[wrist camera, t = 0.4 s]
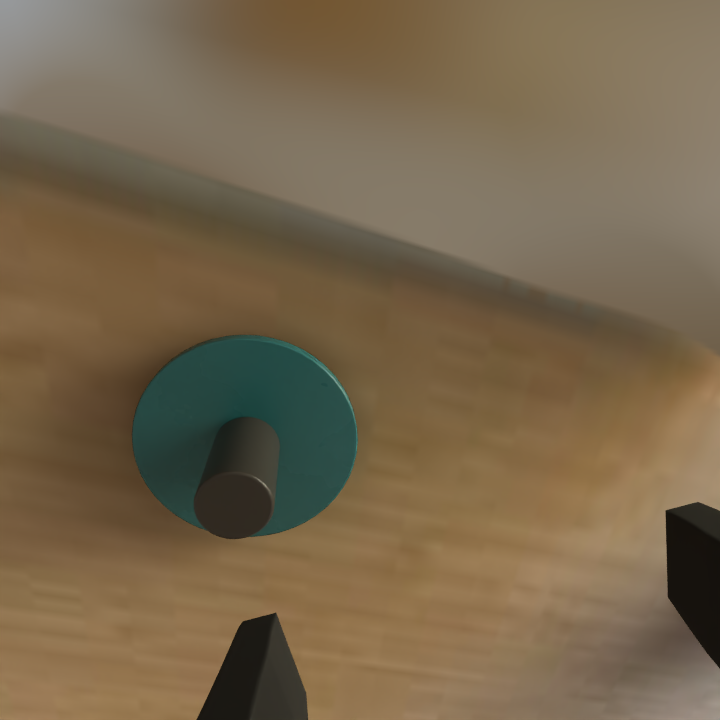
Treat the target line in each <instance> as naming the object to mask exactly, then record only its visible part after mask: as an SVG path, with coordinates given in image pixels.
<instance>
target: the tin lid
mask: <svg viewBox="0 0 720 720" xmlns="http://www.w3.org/2000/svg"><path fill="white" fill-rule="evenodd" d="M357 442H358V438H357V426H356V421H355V416H354V411H353V408H352V405H351V403H350V400H349V397H348V396H347V394H346V392H345V390H344V388H343V386H342V385H341V383H340V382H339V381H338V379H337V378H336V377H335V375H334V374H333V373H332V372H331V371H330V370H329V369H328V368H327V367H326V366H325V365H324V364H323V363H322V362H320V361H319V360H318V359H317V358H315V357H314V356H312V355H311V354H309V353H308V352H306V351H304V350H303V349H301V348H299V347H296V346H294V345H292V344H290V343H287V342H284V341H281V340H277V339H274V338H269V337H263V336H257V335H233V336H224V337H220V338H215V339H211V340H208V341H205V342H202V343H199V344H196V345H194V346H192V347H190V348H188V349H186V350H184V351H183V352H181V353H180V354H178V355H177V356H175V357H174V358H172V359H171V360H170V361H169V362H168V363H167V364H166V365H165V366H163V367H162V368H161V369H160V371H159V372H158V373H157V374H156V375H155V377H154V378H153V379H152V380H151V382H150V383H149V384H148V386H147V388H146V389H145V391H144V392H143V394H142V396H141V398H140V401H139V403H138V405H137V408H136V412H135V416H134V420H133V429H132V443H133V451H134V456H135V460H136V463H137V466H138V469H139V471H140V474H141V476H142V478H143V479H144V481H145V483H146V485H147V486H148V488H149V489H150V490H151V492H152V493H153V494H154V496H155V497H156V498H157V499H158V500H159V501H160V502H161V503H162V504H163V505H164V506H165V507H166V508H167V509H169V510H170V511H171V512H172V513H174V514H175V515H176V516H178V517H180V518H181V519H183V520H185V521H186V522H188V523H190V524H192V525H194V526H197V527H199V528H201V529H204V530H207V531H209V532H210V533H212V534H214V535H216V536H219V537H222V538H227V539H241V538H246V537H255V536H264V535H270V534H275V533H279V532H283V531H286V530H288V529H291V528H294V527H296V526H298V525H300V524H302V523H305V522H306V521H308V520H310V519H311V518H313V517H314V516H316V515H317V514H318V513H320V512H321V511H322V510H323V509H325V508H326V507H327V506H328V505H329V504H330V503H331V502H332V501H333V500H334V499H335V498H336V496H337V495H338V494H339V492H340V491H341V490H342V488H343V487H344V485H345V483H346V481H347V480H348V478H349V476H350V473H351V470H352V468H353V465H354V461H355V457H356V453H357Z"/></svg>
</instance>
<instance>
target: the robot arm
mask: <svg viewBox="0 0 720 720" xmlns="http://www.w3.org/2000/svg"><path fill="white" fill-rule="evenodd" d="M666 542H667V581H668V598H669V599H670V601H671V602H672V604H673V605H674V607H675V608H676V610H677V611H678V613H679V614H680V616H681V617H682V619H683V620H684V622H685V623H686V624H687V626H688V627H689V629H690V630H691V632H692V633H693V634H694V636H695V637H696V639H697V640H698V641H699V643H700V644H701V645H702V647H703V648H704V650H705V651H706V652H707V654H708V655H709V656H710V657H711V658H712V660H713V661H714V662H715V663H716V664H717V666H718V667H719V668H720V511H719V510H716V509H714V508H712V507H709V506H707V505H704V504H702V503H699V502H696V503H692V504H689V505H685V506H681V507H677V508H673V509H670V510H666ZM197 720H308V712H307V698H306V692H305V689H304V686H303V684H302V681H301V678H300V676H299V673H298V670H297V668H296V665H295V662H294V660H293V657H292V654H291V652H290V649H289V646H288V644H287V641H286V638H285V635H284V633H283V630H282V627H281V625H280V622H279V619H278V617H277V614H276V613H273V614H270V615H266V616H262V617H258V618H254V619H251V620H247V621H243V622H242V623H241V625H240V626H239V628H238V630H237V632H236V635H235V637H234V639H233V641H232V644H231V646H230V648H229V651H228V653H227V655H226V657H225V660H224V662H223V664H222V666H221V669H220V671H219V673H218V675H217V677H216V680H215V682H214V684H213V686H212V688H211V690H210V693H209V695H208V697H207V699H206V701H205V703H204V706H203V708H202V710H201V712H200V714H199V716H198V718H197Z"/></svg>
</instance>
